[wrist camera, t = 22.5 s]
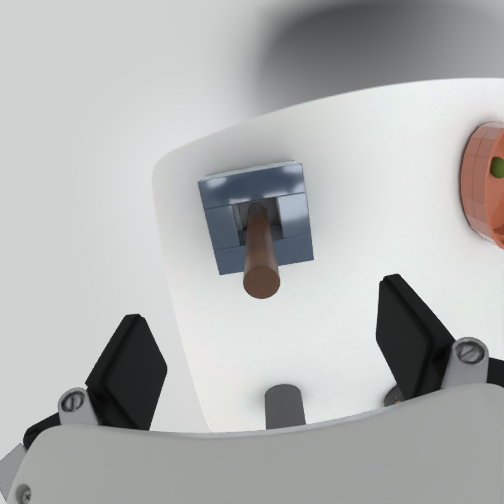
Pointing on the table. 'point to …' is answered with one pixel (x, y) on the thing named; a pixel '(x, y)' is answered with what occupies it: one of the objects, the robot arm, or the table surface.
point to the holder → (249, 189)
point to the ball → (497, 167)
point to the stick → (260, 256)
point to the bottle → (284, 407)
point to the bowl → (484, 183)
